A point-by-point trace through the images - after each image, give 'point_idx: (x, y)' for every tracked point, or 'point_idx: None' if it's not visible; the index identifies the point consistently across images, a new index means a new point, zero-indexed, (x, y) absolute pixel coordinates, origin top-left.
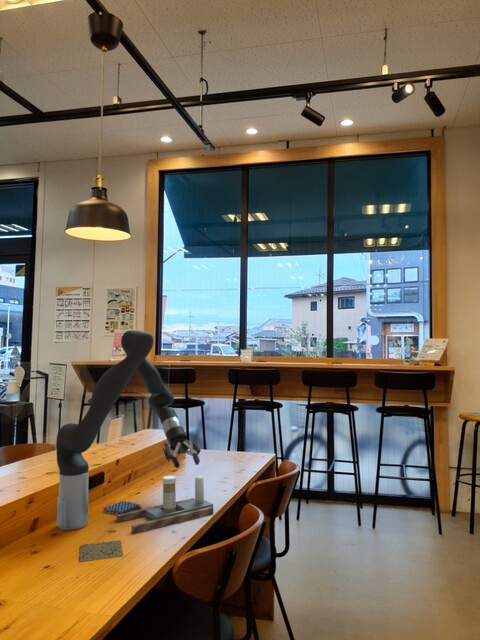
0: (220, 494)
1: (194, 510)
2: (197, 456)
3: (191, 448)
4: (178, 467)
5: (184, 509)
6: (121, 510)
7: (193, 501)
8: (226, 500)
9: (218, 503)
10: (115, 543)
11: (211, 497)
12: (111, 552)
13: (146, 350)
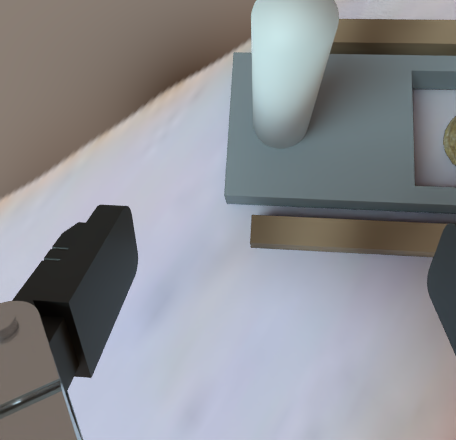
0: (11, 288)
1: (373, 41)
2: (42, 282)
3: (31, 410)
4: (435, 264)
5: (409, 94)
6: None
7: (296, 166)
8: (68, 167)
9: (136, 153)
10: None
11: None
12: None
13: None
